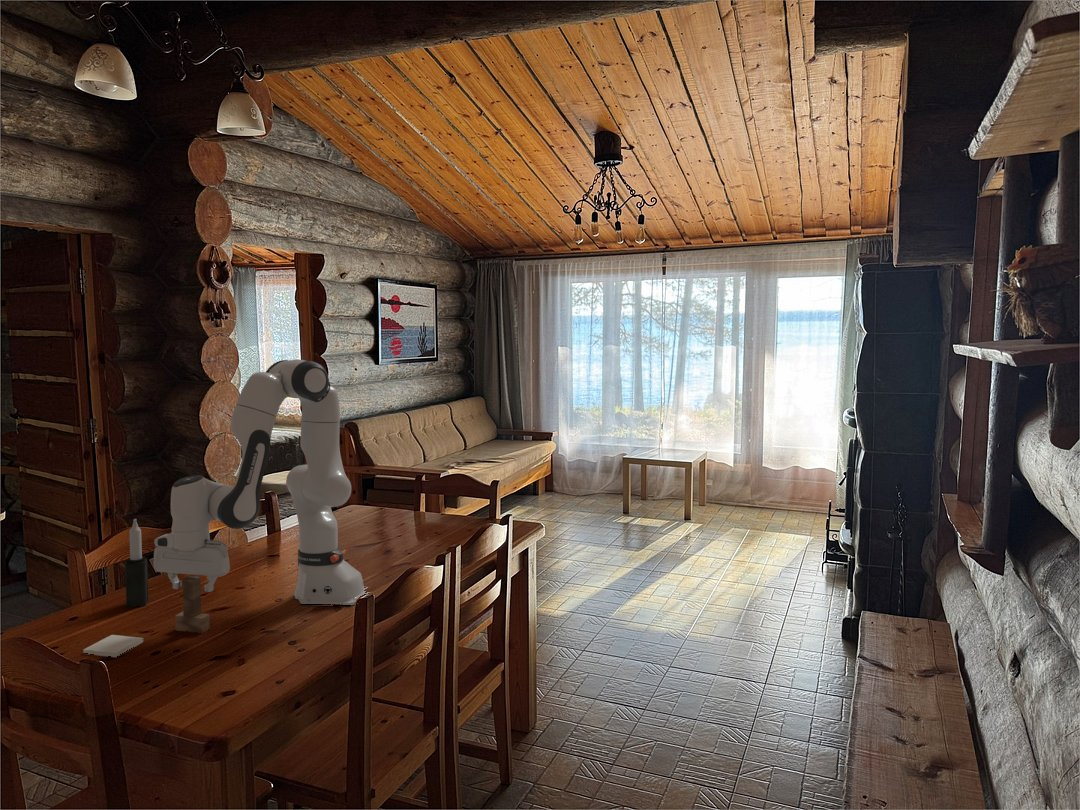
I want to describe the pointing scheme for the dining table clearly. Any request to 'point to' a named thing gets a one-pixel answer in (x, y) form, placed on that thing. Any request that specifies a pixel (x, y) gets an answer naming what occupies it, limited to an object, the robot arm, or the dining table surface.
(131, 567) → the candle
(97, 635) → the dining table surface
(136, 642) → the tile
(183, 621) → the grey t-shaped post
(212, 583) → the robot arm
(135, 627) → the dining table surface
